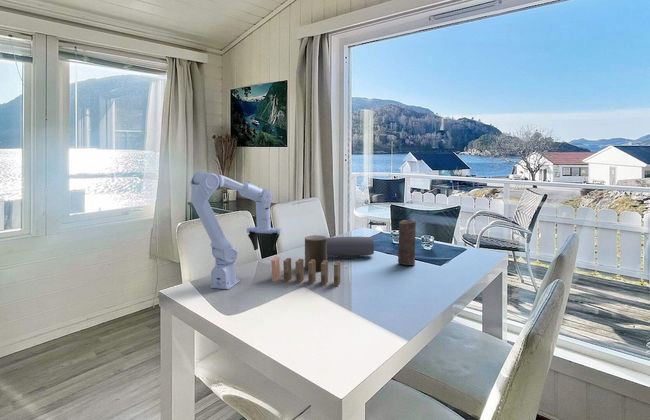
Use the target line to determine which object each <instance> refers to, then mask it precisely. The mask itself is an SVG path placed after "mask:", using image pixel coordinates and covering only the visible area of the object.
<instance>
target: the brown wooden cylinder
mask: <svg viewBox="0 0 650 420" xmlns="http://www.w3.org/2000/svg"><path fill="white" fill-rule="evenodd" d="M416 223H417V221H416V220H413V219H408V220H407V219H405V220H404V219H402V220H400V221H399V223H398V226H399V227H398V248H397V251H398V252H397V253H398V254H397V256H398V257H397V263H398V264H400V265H403V266H410V265H412V266H414V265H416V228H417V225H416Z"/></svg>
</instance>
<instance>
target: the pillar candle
mask: <svg viewBox="0 0 650 420" xmlns="http://www.w3.org/2000/svg"><path fill="white" fill-rule="evenodd" d="M327 238H328V237H327V236H325V235H317V234H315V235H309V236H304V269H305V271H306V270H307V271H308V263H309V261H310V260H311V259H313V260H315V266H316V272H321V263H322V262H323V261H324V260H328V256H327Z"/></svg>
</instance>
